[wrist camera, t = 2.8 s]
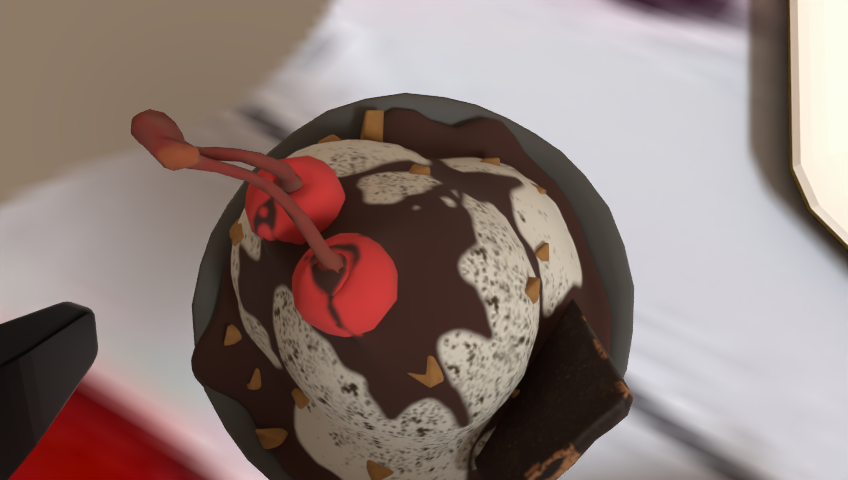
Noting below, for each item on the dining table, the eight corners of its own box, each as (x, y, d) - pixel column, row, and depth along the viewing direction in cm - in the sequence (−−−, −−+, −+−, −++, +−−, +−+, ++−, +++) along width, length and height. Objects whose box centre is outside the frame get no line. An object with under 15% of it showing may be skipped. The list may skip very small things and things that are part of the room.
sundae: (296, 268, 21) (-70, -51, 6) (509, 217, 21) (651, -212, 6) (339, 489, 19) (-14, 778, 5) (568, 434, 19) (943, 542, 5)
